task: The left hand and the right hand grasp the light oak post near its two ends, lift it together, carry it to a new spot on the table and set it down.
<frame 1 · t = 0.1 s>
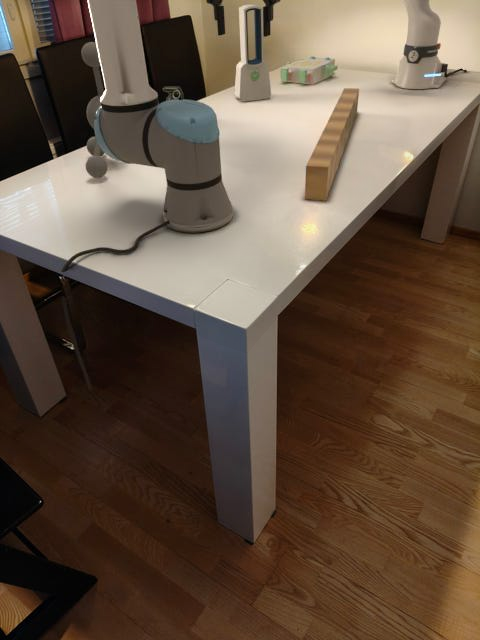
left hand: (243, 35, 129), 28 cm above the table, tool pointing down, fingers open, 13 cm apart
white green flat box: (308, 79, 208), on the table
electronic device: (252, 98, 186), on the table
grenade: (176, 119, 169), on the table
molecular model: (124, 163, 137), on the table
post: (335, 148, 138), on the table
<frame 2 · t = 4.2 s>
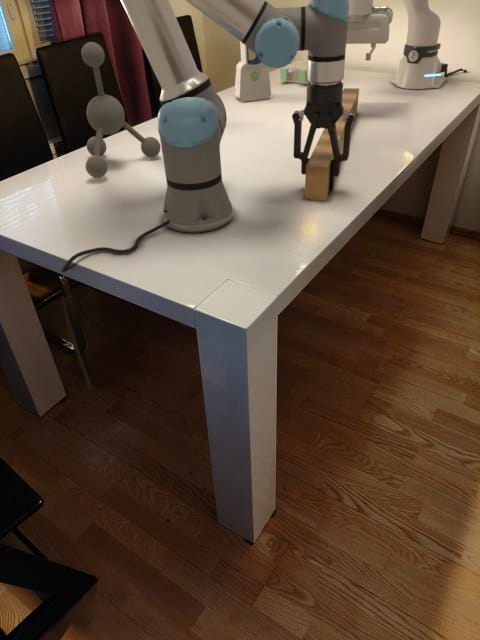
left hand: (319, 187, 116), 1 cm above the table, tool pointing down, fingers closed on post, 5 cm apart
right hand: (352, 60, 150), 17 cm above the table, tool pointing down, fingers open, 8 cm apart
post: (335, 148, 138), on the table, touching left hand
everything else where it was.
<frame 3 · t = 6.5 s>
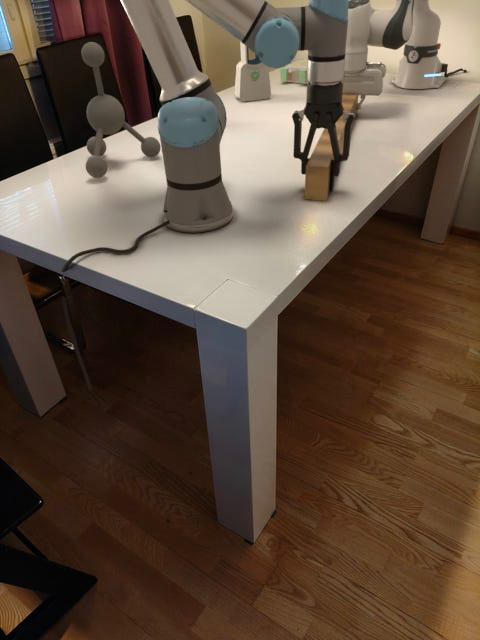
left hand: (319, 187, 116), 1 cm above the table, tool pointing down, fingers closed on post, 5 cm apart
right hand: (348, 109, 159), 3 cm above the table, tool pointing down, fingers closed on post, 5 cm apart
post: (335, 148, 138), on the table, touching left hand, right hand
everything else where it was.
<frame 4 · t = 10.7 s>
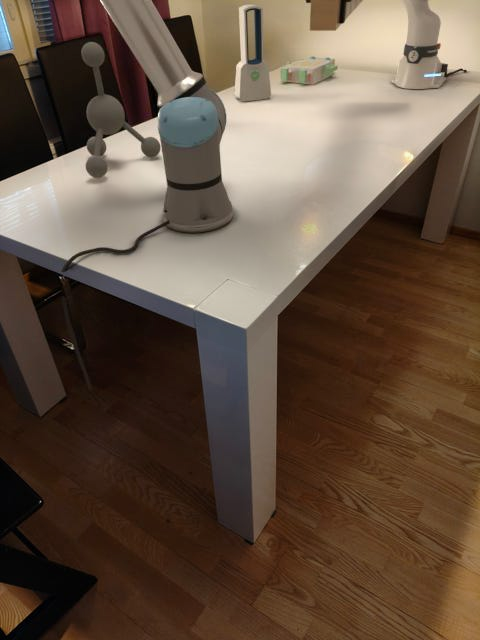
left hand: (327, 22, 95), 34 cm above the table, tool pointing down, fingers closed on post, 5 cm apart
post: (345, 8, 118), point 34 cm above the table, touching left hand, right hand
everything else where it was.
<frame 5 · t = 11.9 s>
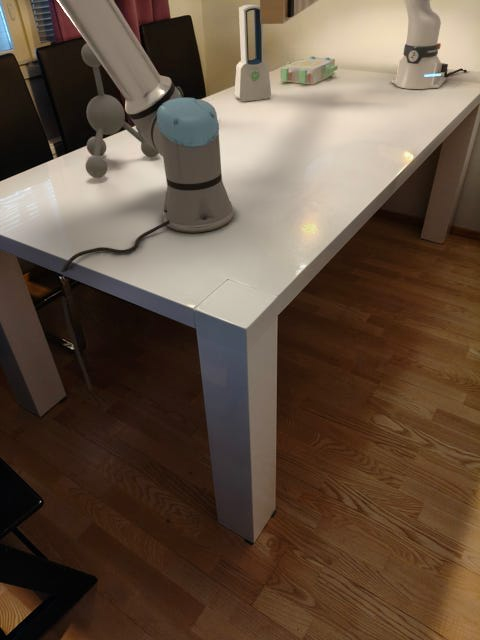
left hand: (277, 16, 105), 35 cm above the table, tool pointing down, fingers closed on post, 5 cm apart
post: (302, 5, 128), point 34 cm above the table, touching left hand, right hand
everything else where it was.
when the left hand's fingers open (2 cm above the table, at t = 17.4 s): post drops 1 cm, on the table.
when the right hand's fingers open (4 cm above the table, at t = 17.4 s): post drops 1 cm, on the table.
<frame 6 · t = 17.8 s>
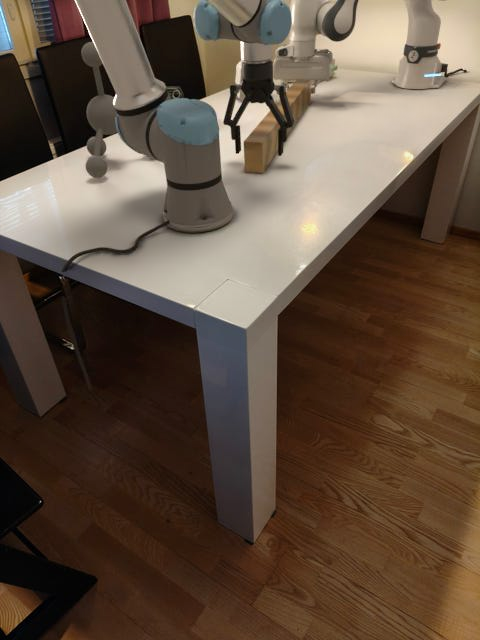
left hand: (259, 153, 129), 3 cm above the table, tool pointing down, fingers open, 11 cm apart
right hand: (300, 93, 173), 4 cm above the table, tool pointing down, fingers open, 7 cm apart
post: (283, 130, 153), on the table
everything else where it was.
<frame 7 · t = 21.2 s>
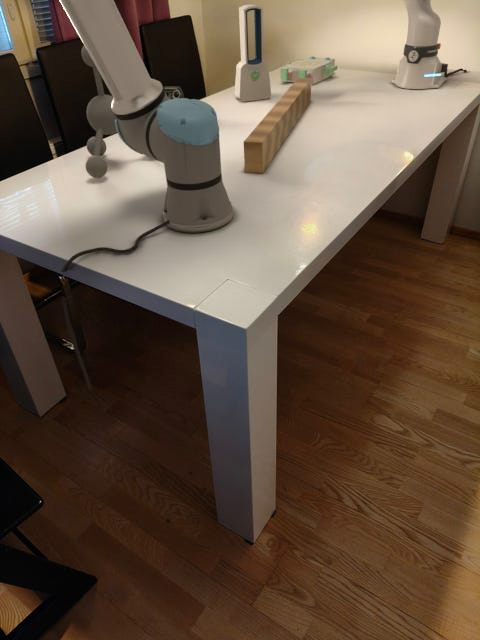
nothing on the table moved.
at the end: post inside the target area (0.1 cm from its centre), on the table; post tilted 0°; post never tilted more than 1° during the clip; both hands held the post at the same time; the left hand is holding nothing; the right hand is holding nothing; post at rest at the end (0.0 cm/s) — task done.
